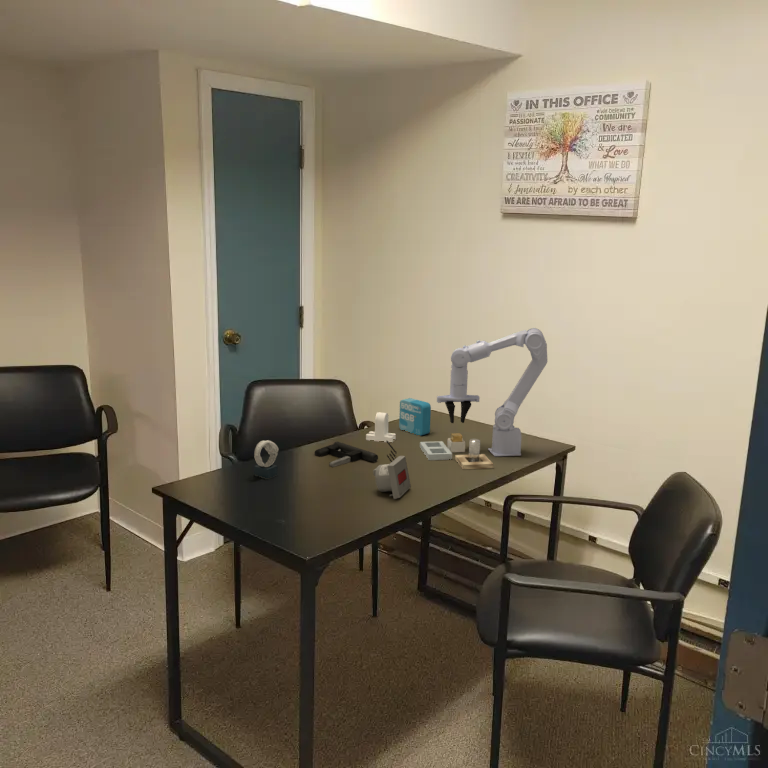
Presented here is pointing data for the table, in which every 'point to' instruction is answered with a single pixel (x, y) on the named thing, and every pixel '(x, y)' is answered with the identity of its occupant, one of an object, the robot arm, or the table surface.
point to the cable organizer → (381, 429)
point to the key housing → (456, 446)
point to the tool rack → (436, 450)
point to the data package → (415, 416)
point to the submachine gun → (346, 453)
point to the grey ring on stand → (267, 468)
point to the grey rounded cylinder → (474, 450)
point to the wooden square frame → (482, 463)
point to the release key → (456, 437)
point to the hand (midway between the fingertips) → (457, 422)
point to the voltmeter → (393, 476)
